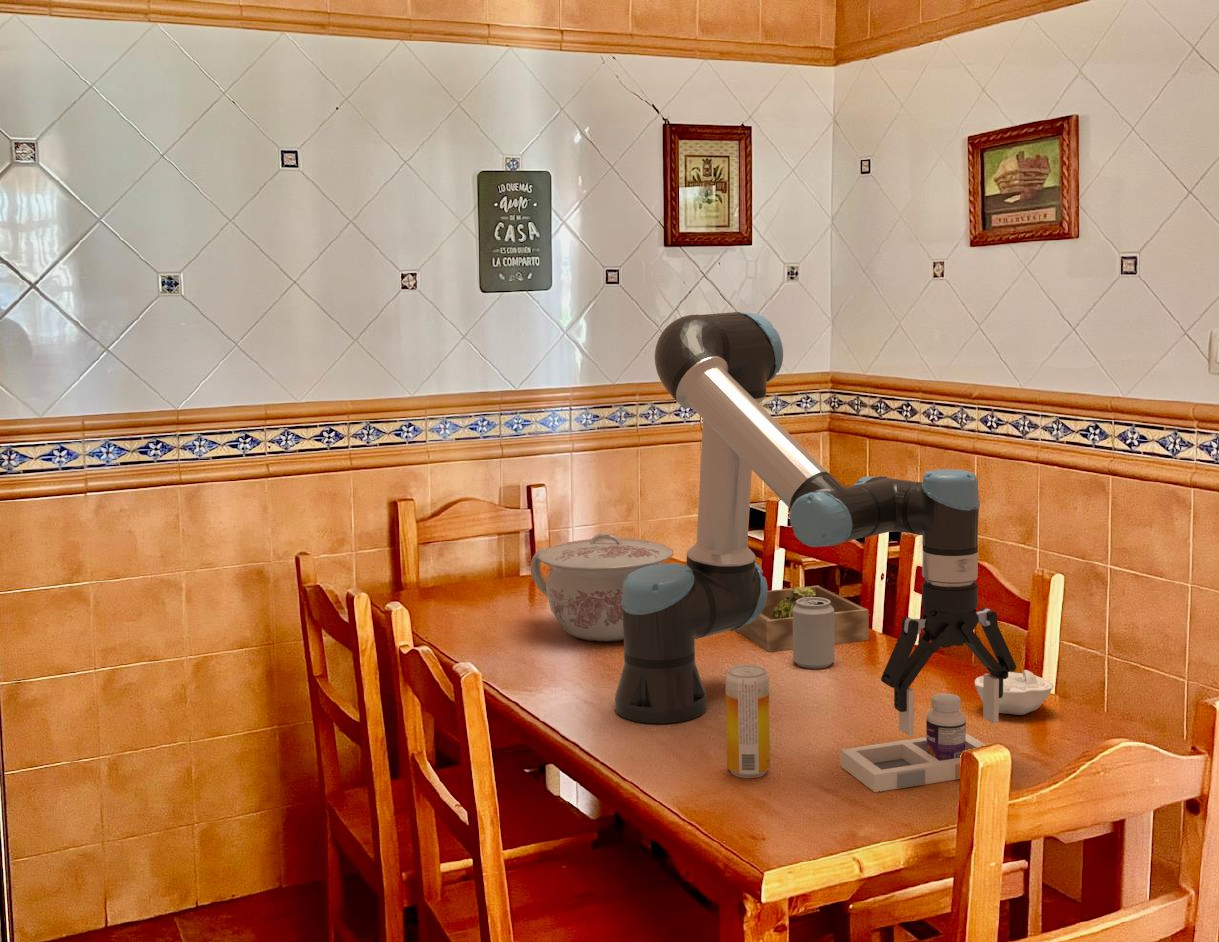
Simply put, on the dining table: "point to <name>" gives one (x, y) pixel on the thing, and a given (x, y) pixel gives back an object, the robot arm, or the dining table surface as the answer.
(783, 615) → the green leafy plant
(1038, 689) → the cell model
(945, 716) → the pill bottle
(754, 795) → the dining table surface
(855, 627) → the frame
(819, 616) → the can
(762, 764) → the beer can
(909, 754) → the socket block
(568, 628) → the chamber pot
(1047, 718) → the dining table surface
